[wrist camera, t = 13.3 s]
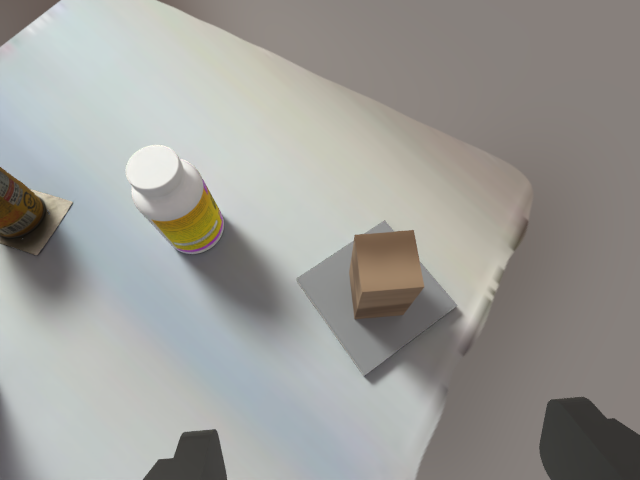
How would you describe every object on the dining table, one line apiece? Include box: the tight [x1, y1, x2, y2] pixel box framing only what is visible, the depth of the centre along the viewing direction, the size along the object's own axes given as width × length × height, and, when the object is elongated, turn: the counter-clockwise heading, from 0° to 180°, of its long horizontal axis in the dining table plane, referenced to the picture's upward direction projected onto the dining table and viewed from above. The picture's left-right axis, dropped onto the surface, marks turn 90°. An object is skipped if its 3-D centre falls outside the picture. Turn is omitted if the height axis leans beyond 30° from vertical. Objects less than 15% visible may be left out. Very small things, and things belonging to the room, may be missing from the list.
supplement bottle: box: [126, 145, 224, 254], centre depth 41 cm, size 7×7×13 cm
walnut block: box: [349, 230, 424, 319], centre depth 38 cm, size 5×5×10 cm
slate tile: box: [296, 220, 457, 376], centre depth 43 cm, size 12×12×1 cm
